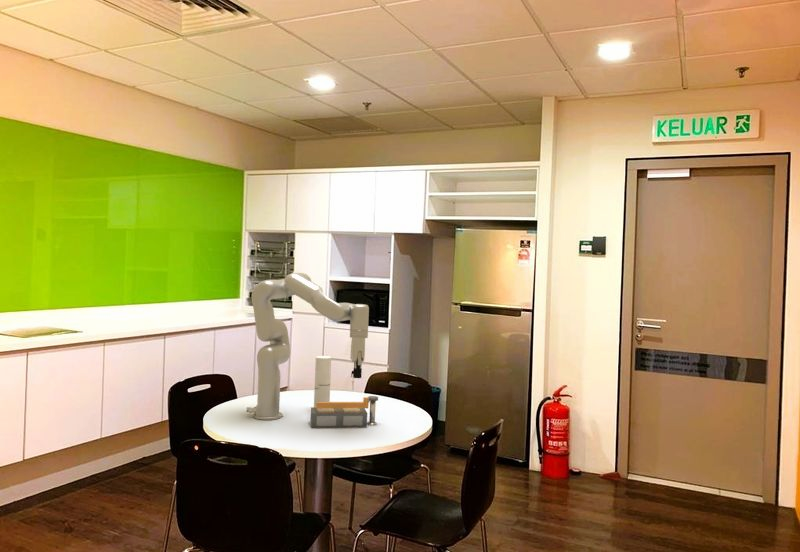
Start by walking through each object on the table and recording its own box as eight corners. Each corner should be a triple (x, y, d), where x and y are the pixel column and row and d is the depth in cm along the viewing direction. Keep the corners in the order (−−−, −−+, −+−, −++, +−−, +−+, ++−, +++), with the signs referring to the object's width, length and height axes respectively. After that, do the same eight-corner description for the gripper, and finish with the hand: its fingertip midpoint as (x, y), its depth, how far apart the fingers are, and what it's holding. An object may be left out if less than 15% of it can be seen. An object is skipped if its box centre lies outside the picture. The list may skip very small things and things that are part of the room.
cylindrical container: (326, 413, 275) (328, 358, 274) (311, 412, 276) (313, 357, 276) (331, 410, 282) (333, 356, 281) (316, 408, 283) (318, 355, 283)
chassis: (311, 428, 249) (312, 413, 248) (310, 421, 260) (310, 406, 260) (366, 427, 253) (367, 412, 253) (363, 420, 264) (363, 406, 264)
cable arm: (316, 409, 252) (317, 398, 252) (316, 406, 257) (316, 396, 257) (378, 408, 257) (378, 398, 257) (376, 406, 262) (377, 396, 262)
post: (368, 425, 257) (368, 401, 257) (366, 422, 261) (367, 399, 261) (377, 425, 258) (378, 401, 258) (375, 422, 262) (376, 399, 262)
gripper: (347, 331, 258) (346, 374, 258) (352, 335, 243) (350, 381, 244) (365, 332, 260) (363, 374, 260) (370, 336, 245) (368, 381, 245)
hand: (357, 377), depth 252 cm, fingers closed
